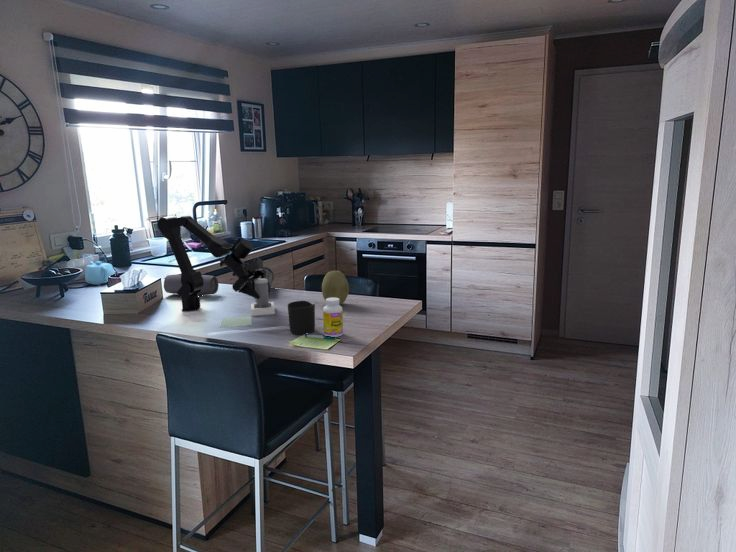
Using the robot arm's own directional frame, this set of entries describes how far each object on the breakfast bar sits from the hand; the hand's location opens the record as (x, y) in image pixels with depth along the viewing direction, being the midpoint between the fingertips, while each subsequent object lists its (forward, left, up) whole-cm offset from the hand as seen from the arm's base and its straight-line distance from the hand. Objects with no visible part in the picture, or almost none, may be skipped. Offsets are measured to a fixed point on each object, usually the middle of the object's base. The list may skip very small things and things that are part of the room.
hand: (264, 295), depth 199 cm
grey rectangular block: (-1, +1, -7) cm, 7 cm away
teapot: (-82, +84, -8) cm, 117 cm away
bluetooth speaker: (-32, +41, -8) cm, 52 cm away
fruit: (+29, +6, -8) cm, 31 cm away
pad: (-11, -10, -8) cm, 17 cm away
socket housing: (-1, +1, -8) cm, 8 cm away
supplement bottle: (+22, -32, -8) cm, 40 cm away
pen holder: (+12, -25, -8) cm, 29 cm away
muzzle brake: (0, +39, -8) cm, 39 cm away
